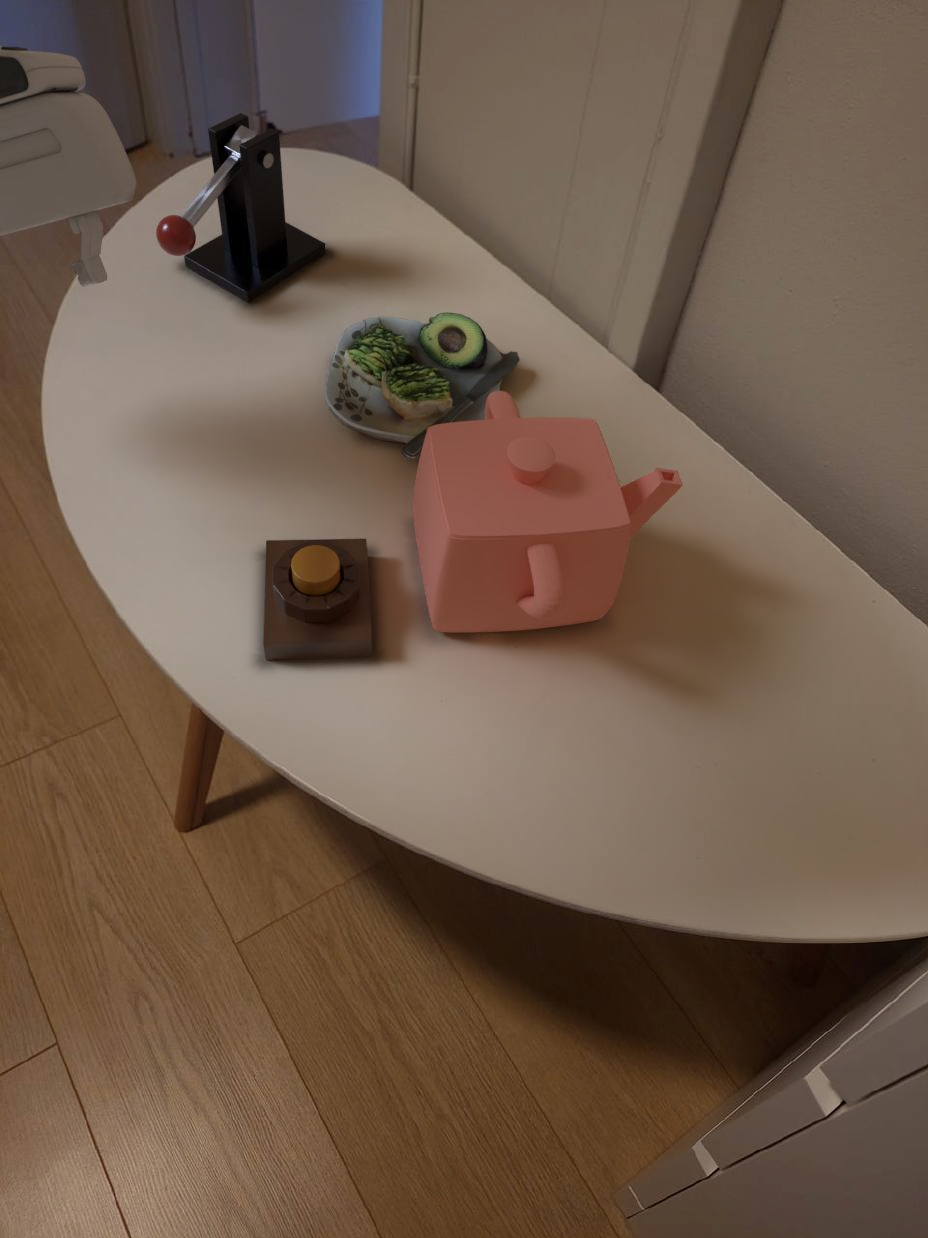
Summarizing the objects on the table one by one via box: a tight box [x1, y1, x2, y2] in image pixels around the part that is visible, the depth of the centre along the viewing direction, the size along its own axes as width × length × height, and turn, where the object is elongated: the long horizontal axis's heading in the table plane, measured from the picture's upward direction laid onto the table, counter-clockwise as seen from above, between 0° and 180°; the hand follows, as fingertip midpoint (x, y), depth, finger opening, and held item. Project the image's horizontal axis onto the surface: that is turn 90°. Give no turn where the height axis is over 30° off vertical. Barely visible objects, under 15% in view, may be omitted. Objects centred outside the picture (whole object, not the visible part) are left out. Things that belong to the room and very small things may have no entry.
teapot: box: [412, 390, 684, 633], centre depth 71 cm, size 20×22×14 cm
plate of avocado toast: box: [323, 312, 521, 460], centre depth 85 cm, size 19×18×5 cm
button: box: [291, 545, 340, 596], centre depth 69 cm, size 4×4×2 cm
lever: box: [155, 125, 259, 257], centre depth 87 cm, size 14×4×4 cm, turn 144°
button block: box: [262, 538, 373, 661], centre depth 71 cm, size 8×10×4 cm
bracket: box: [183, 112, 326, 304], centre depth 92 cm, size 12×9×14 cm
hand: (39, 297), depth 69 cm, fingers open, 8 cm apart
